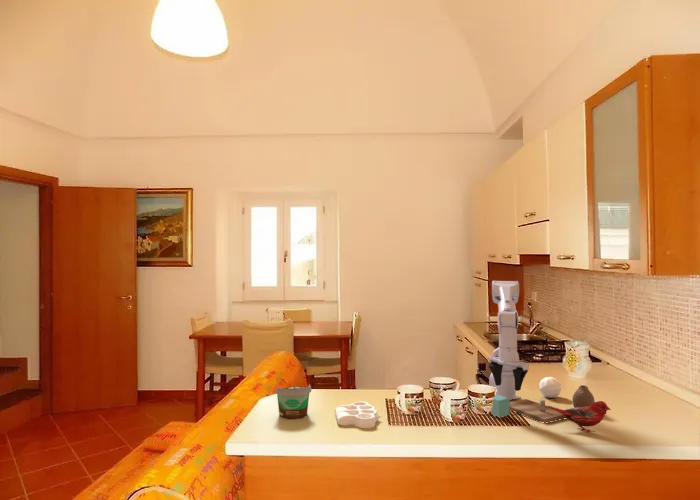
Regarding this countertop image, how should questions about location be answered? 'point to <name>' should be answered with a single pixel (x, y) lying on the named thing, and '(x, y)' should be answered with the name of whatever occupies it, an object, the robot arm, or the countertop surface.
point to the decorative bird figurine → (585, 414)
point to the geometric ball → (550, 387)
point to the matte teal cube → (501, 406)
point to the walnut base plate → (536, 410)
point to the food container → (293, 402)
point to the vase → (582, 397)
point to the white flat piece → (357, 414)
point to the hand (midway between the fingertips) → (507, 387)
